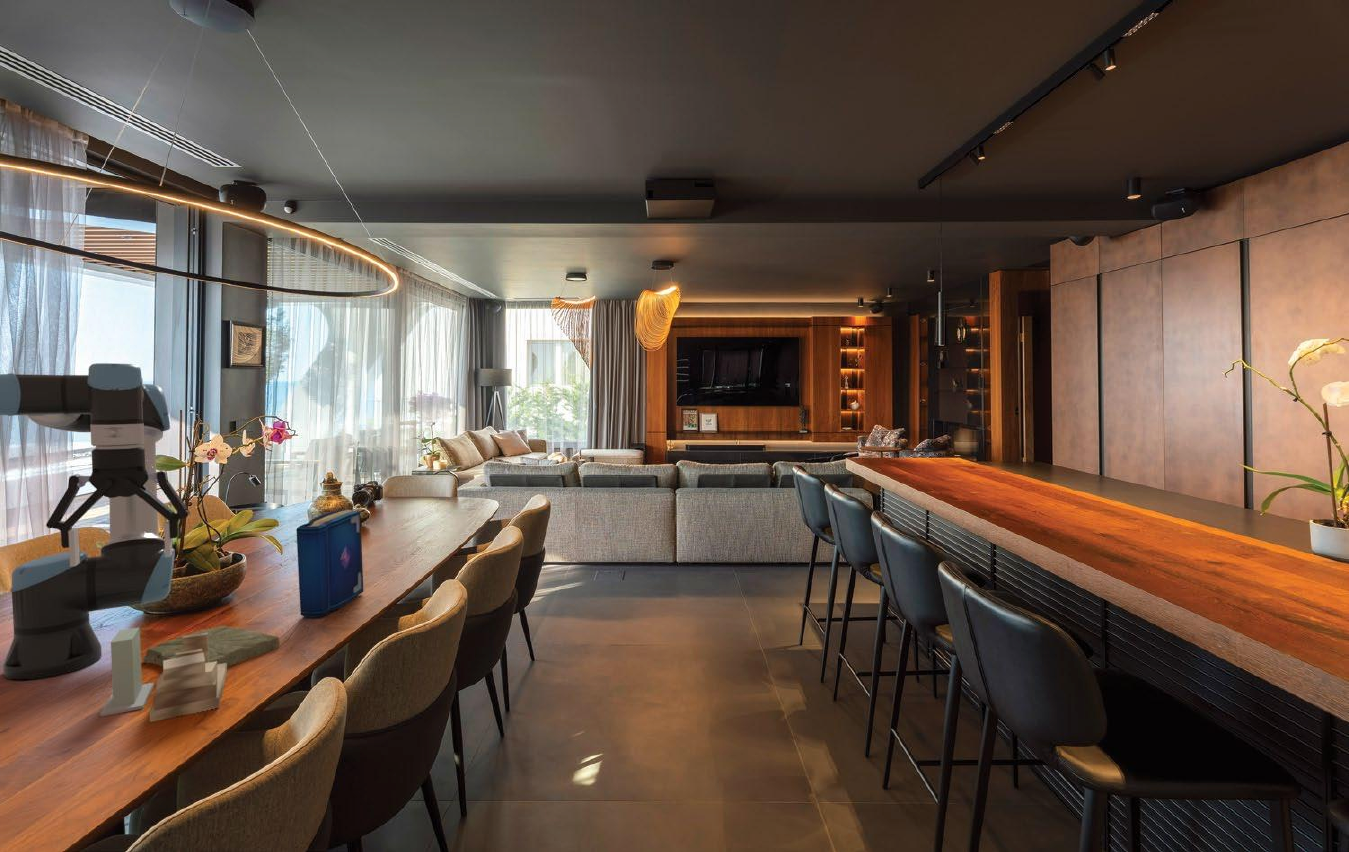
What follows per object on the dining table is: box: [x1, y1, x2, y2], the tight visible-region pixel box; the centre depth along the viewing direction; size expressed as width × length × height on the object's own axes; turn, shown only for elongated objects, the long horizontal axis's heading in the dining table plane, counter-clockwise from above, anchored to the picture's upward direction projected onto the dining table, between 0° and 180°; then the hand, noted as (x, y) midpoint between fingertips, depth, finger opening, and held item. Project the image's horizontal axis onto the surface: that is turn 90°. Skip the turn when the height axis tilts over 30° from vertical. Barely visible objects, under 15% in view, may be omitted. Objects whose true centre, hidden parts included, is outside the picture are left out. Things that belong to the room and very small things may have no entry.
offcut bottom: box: [153, 676, 217, 711], centre depth 120 cm, size 9×6×2 cm, turn 123°
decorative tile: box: [142, 625, 280, 668], centre depth 144 cm, size 19×20×4 cm
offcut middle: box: [156, 661, 218, 693], centre depth 120 cm, size 8×5×2 cm, turn 115°
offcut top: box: [162, 653, 205, 681], centre depth 119 cm, size 6×5×2 cm
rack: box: [149, 633, 228, 723], centre depth 125 cm, size 10×18×9 cm, turn 30°
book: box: [296, 509, 364, 618], centre depth 177 cm, size 22×7×25 cm, turn 179°
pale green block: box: [110, 627, 143, 707], centre depth 123 cm, size 3×7×12 cm, turn 30°
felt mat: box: [99, 682, 155, 718], centre depth 123 cm, size 6×11×1 cm, turn 31°
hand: (123, 560), depth 122 cm, fingers open, 13 cm apart
